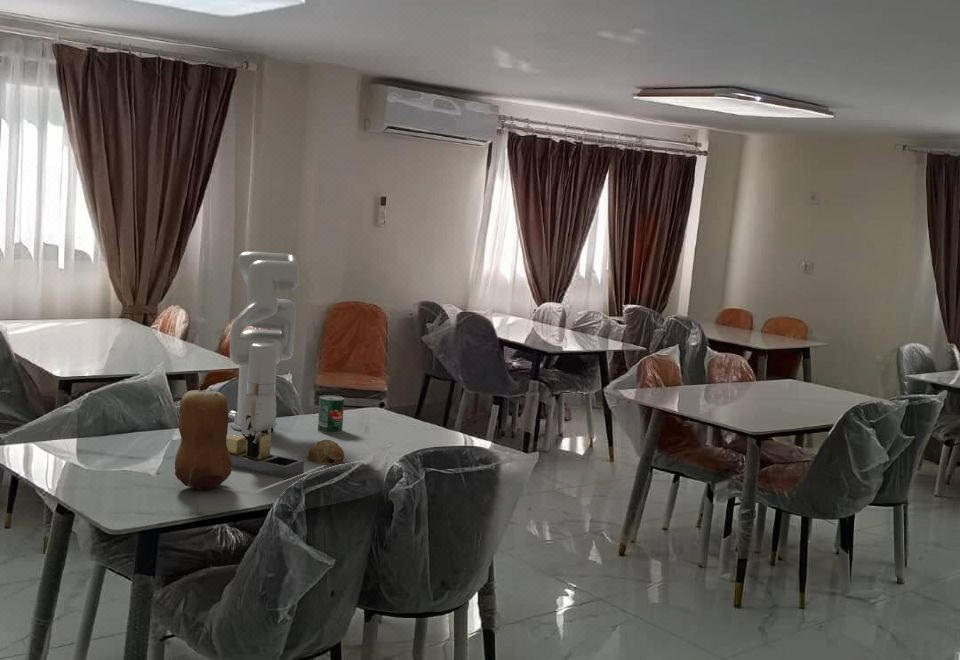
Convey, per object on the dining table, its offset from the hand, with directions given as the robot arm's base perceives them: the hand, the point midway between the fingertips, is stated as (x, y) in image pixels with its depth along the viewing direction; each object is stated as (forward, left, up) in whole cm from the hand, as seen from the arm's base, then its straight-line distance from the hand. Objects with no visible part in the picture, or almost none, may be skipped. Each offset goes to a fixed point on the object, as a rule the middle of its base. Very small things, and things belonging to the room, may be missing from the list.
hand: (258, 454), depth 266 cm
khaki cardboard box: (-8, 0, -4) cm, 9 cm away
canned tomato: (-9, +51, -4) cm, 52 cm away
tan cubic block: (0, 0, -2) cm, 2 cm away
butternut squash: (0, -23, -4) cm, 23 cm away
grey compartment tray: (0, 0, -4) cm, 4 cm away
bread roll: (+9, +19, -5) cm, 22 cm away
